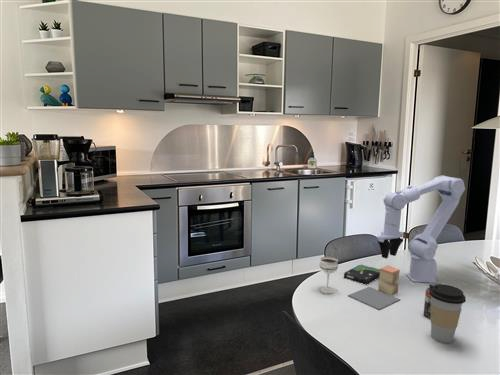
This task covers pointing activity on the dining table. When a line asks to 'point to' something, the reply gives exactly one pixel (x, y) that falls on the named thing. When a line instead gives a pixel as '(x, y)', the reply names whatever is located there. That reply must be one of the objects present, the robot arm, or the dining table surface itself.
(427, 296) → the supplement bottle
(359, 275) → the disk drive
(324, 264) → the wineglass
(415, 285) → the dining table surface
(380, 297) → the mat
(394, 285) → the maple block
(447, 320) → the coffee cup
